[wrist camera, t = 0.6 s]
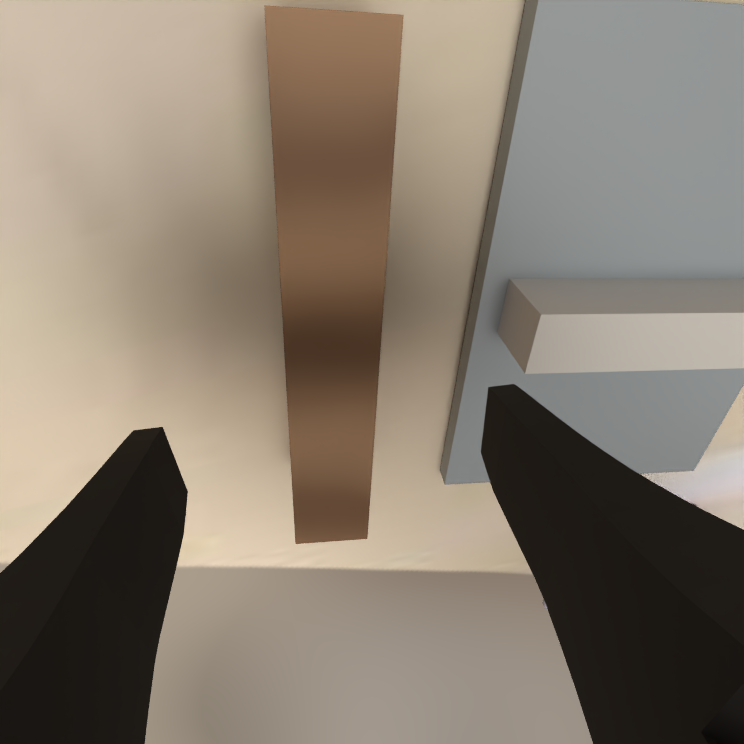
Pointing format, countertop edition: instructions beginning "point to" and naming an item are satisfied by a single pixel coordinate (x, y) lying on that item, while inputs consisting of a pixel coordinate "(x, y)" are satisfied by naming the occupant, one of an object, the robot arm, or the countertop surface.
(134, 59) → the countertop surface
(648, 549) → the robot arm
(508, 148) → the ridge board
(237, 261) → the countertop surface
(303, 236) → the walnut batten
